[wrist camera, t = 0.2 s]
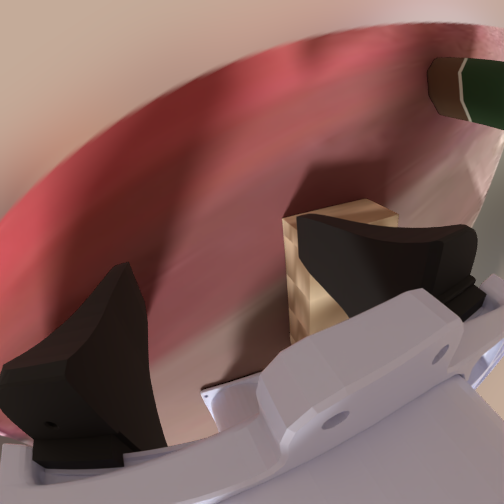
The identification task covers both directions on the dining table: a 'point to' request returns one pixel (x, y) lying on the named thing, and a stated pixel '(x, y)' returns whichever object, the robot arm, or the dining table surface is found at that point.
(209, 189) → the dining table surface
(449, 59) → the beer bottle
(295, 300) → the socket block
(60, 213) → the dining table surface
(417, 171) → the dining table surface
